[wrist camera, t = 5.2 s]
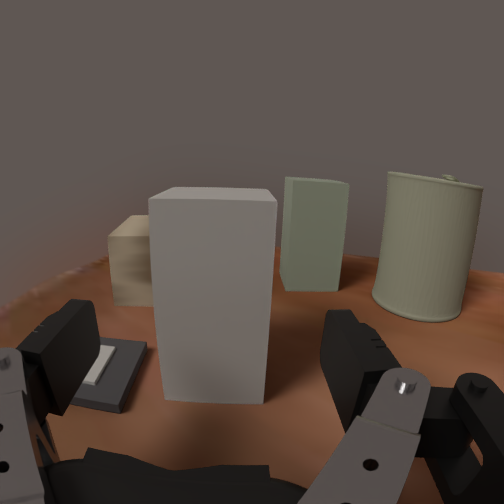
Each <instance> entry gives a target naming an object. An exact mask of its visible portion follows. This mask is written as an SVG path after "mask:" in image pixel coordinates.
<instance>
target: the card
mask: <svg viewBox="0 0 504 504" xmlns="http://www.w3.org/2000/svg"><path fill="white" fill-rule="evenodd" d="M100 343H101V346H100V353H99V356H98V358H97V359H96V361H95V363H94V364H93V366H92V367H91V369H90V371H89V372H88V374H87V376H86V377H85V379H84V380H83V382H82V384H81V385H80V387H79V389H78V390H77V392H76V394H75V396H74V397H73V399H72V401H71V402H70V404H73V405H78V406H82V407H87V408H92V409H97V410H103V411H108V412H114V413H121V411H122V409H123V406H124V404H125V401H126V399H127V396H128V394H129V392H130V389H131V387H132V384H133V382H134V380H135V377H136V375H137V373H138V370H139V368H140V366H141V363H142V361H143V359H144V357H145V354H146V352H147V342H142V341H131V340H121V339H112V338H103V337H100Z"/></svg>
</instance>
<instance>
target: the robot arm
mask: <svg viewBox="0 0 504 504" xmlns="http://www.w3.org/2000/svg"><path fill="white" fill-rule="evenodd" d="M100 346H101V343H100V336H99V331H98V326H97V320H96V314H95V308H94V305H93V303H92V301H89V300H78V299H71V300H69V301H68V302H67V303H66V304H65V305H64V306H63V307H62V308H61V309H60V310H59V311H58V312H56V313H54V314H52V315H50V316H48V317H47V318H46V319H45V320H44V321H43V322H42V323H41V324H40V326H39V325H38V326H37V327H36V328H35V329H34V332H33V331H32V332H31V333H30V334H29V335H28V336H27V337H26V338H25V339H24V340H23V341H22V342H21V344H20V345H19V346H18V347H17V348H16V349H14V348H0V504H396V503H397V501H398V499H399V496H400V494H401V491H402V489H403V486H404V484H405V481H406V479H407V476H408V473H409V470H410V468H411V465H412V462H413V459H414V457H420V458H425V461H426V463H427V465H428V467H429V470H430V472H431V474H432V476H433V479H434V481H435V483H436V486H437V488H438V490H439V493H440V495H441V497H442V500H443V502H444V504H504V393H503V392H502V391H501V390H500V389H499V388H498V386H497V385H496V384H495V383H494V382H493V381H492V380H491V379H489V378H488V377H486V376H484V375H481V374H478V373H465V374H462V375H461V376H459V377H458V379H457V381H456V383H455V386H454V388H443V387H431V386H430V382H429V380H428V379H427V378H426V377H425V376H424V375H423V374H421V373H419V372H417V371H415V370H412V369H408V368H402V367H401V365H400V364H399V363H398V361H397V360H396V358H395V357H394V355H393V354H392V353H391V351H390V350H389V348H388V347H386V344H385V343H384V341H383V340H381V337H380V336H379V334H378V333H377V332H376V330H374V329H373V328H371V327H370V326H368V325H367V324H365V323H359V321H358V320H357V319H356V317H355V316H354V314H353V313H352V311H351V310H350V309H346V310H328V311H327V313H326V318H325V324H324V331H323V337H322V343H321V349H320V363H321V367H322V370H323V373H324V376H325V378H326V381H327V384H328V387H329V389H330V392H331V395H332V398H333V400H334V403H335V406H336V409H337V412H338V414H339V417H340V420H341V423H342V426H343V428H344V431H345V435H344V437H343V439H342V440H341V442H340V443H339V445H338V446H337V448H336V450H335V451H334V453H333V454H332V456H331V457H330V459H329V460H328V462H327V463H326V465H325V466H324V468H323V469H322V470H321V472H320V473H319V475H318V476H317V478H316V479H315V480H314V482H313V483H312V484H311V486H310V487H309V489H306V488H304V487H301V486H299V485H297V484H294V483H291V482H288V481H284V480H280V479H275V478H270V474H269V465H218V466H211V467H204V468H196V469H188V470H178V471H172V470H167V469H164V468H161V467H158V466H155V465H152V464H149V463H147V462H144V461H141V460H139V459H136V458H133V457H131V456H128V455H123V454H117V453H112V452H107V451H102V450H98V449H93V448H89V447H88V449H87V451H86V454H85V456H84V458H83V459H71V460H65V461H60V458H59V455H58V452H57V449H56V446H55V443H54V440H53V437H52V433H51V430H50V426H49V423H48V421H47V419H46V416H47V414H48V413H51V414H55V415H59V416H63V414H64V413H65V411H66V409H67V408H68V406H69V404H70V402H71V401H72V399H73V397H74V396H75V394H76V392H77V390H78V389H79V387H80V385H81V384H82V382H83V380H84V379H85V377H86V376H87V374H88V372H89V371H90V369H91V367H92V366H93V364H94V363H95V361H96V359H97V358H98V356H99V353H100ZM473 439H474V441H475V442H476V444H477V445H478V447H479V449H480V450H481V452H482V455H483V465H482V467H481V465H480V463H479V461H478V459H477V458H476V456H475V454H474V453H473V451H472V449H471V447H470V446H469V445H470V444H471V442H472V441H473Z"/></svg>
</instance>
